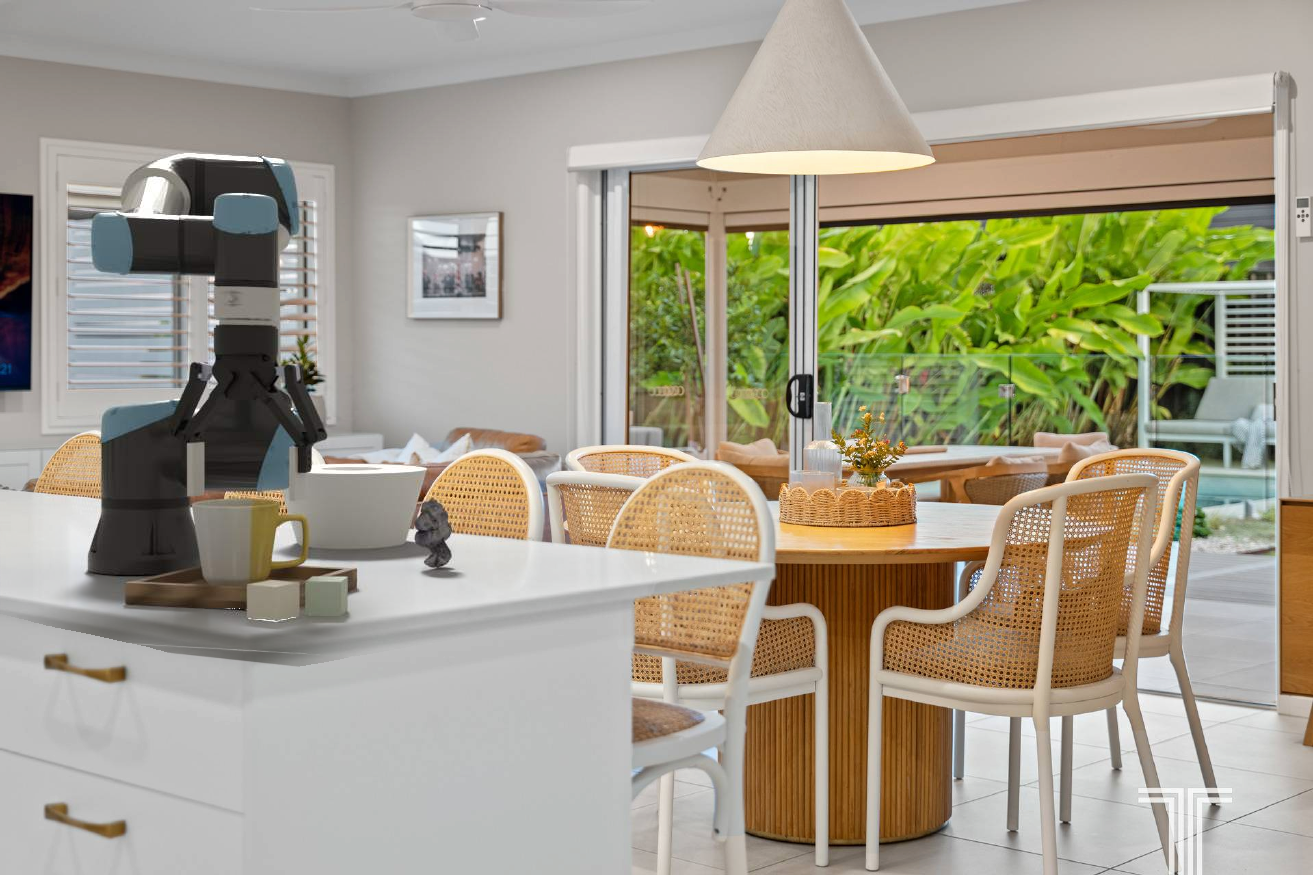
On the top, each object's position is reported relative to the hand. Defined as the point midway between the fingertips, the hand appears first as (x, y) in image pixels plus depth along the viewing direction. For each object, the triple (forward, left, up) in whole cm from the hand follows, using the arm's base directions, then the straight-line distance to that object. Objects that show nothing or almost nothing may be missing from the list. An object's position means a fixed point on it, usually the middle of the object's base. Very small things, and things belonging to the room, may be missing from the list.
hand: (246, 498), depth 177 cm
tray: (0, 0, -12) cm, 12 cm away
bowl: (-12, +56, -12) cm, 58 cm away
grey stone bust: (+12, +31, -12) cm, 35 cm away
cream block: (+11, -14, -12) cm, 22 cm away
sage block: (+15, -9, -12) cm, 22 cm away
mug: (+1, 0, -11) cm, 11 cm away
